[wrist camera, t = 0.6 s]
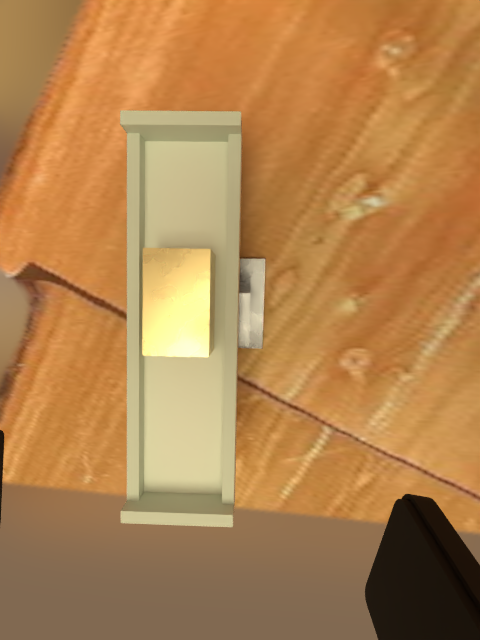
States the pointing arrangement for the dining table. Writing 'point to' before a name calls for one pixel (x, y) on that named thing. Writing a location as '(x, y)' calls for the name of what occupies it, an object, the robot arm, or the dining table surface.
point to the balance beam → (222, 365)
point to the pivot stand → (251, 302)
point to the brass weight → (178, 302)
